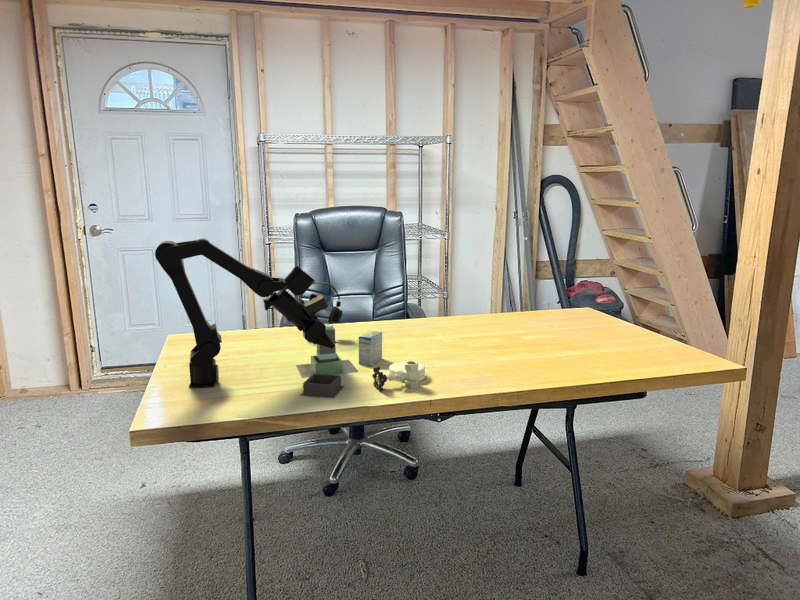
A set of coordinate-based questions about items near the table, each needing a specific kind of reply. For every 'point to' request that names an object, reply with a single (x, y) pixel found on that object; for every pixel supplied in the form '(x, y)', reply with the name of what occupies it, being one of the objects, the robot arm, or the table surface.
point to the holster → (322, 386)
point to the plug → (325, 352)
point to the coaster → (401, 366)
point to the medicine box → (370, 347)
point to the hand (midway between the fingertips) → (330, 343)
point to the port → (326, 367)
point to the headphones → (335, 312)
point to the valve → (398, 376)
